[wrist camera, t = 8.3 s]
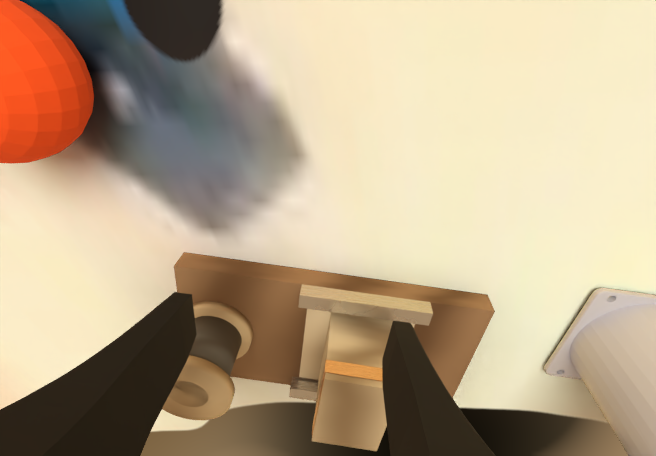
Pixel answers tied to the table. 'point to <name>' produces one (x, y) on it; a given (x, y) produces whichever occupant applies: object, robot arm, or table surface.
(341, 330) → the block
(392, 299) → the brown rectangular board
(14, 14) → the clementine
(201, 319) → the spool
